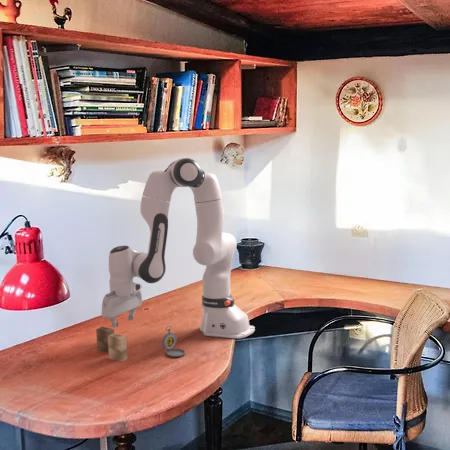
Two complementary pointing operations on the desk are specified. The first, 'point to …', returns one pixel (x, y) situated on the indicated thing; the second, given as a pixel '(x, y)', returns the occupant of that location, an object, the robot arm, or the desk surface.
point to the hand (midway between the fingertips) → (123, 323)
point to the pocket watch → (171, 345)
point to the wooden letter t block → (117, 347)
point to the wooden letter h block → (103, 338)
